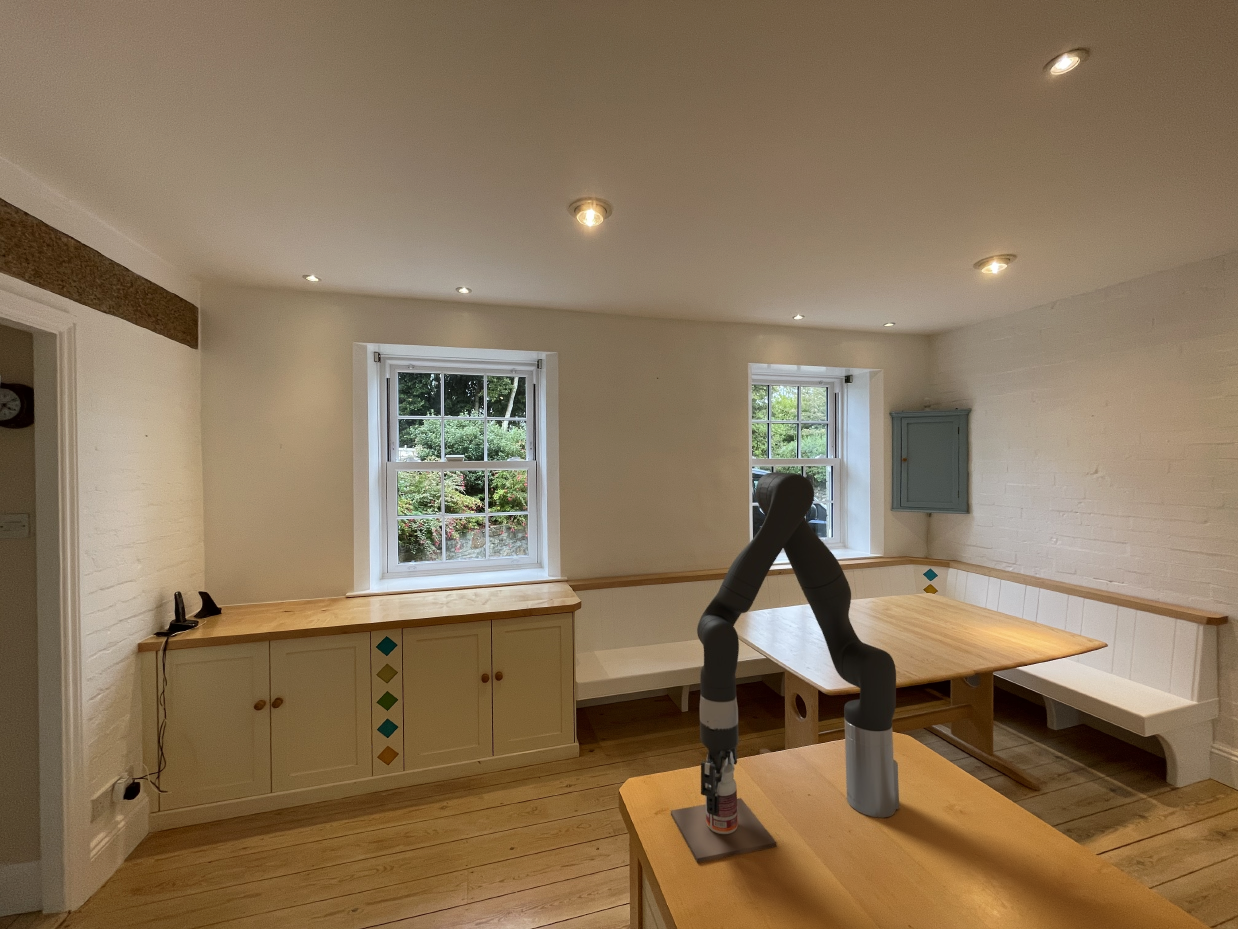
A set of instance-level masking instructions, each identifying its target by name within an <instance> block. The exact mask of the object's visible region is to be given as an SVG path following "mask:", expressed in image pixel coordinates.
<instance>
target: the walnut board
mask: <svg viewBox="0 0 1238 929" xmlns="http://www.w3.org/2000/svg"><path fill="white" fill-rule="evenodd" d="M670 816H671V818H672V820H673V821H674V823H675V825H676V827H677V828H678V831H679V833H680V834H681V836H682V837H683V838H682V839H683V840H684V841H685V843H686V845H687V847H688V848H689V851H690V852H691V854H692V855H693V858H694V859H695V862H696V863H697V864H700V863H704V862H708V861H713V860H717V859H724V858H729V857H732V856H738V855H743V854H747V853H753V852H757V850H758V851H761V850H762V851H763V850H766V849H767V850H768V849H771V848H777V844H778V843H777V841H776V840H775V837H773V836H772V835H771V833H770V832H769V831H768V830H767V828H766V827H765V826H764V825H763V823H762V822H761V821H760V820H759V819H758V817H757V816H756V815H755V814H754V813H753V811H752V810H751V809H750V807H749V806H748V805H747V804H746V803H745V801H744V800H743V798H742V797H740V798H738V797H737V817H738V826H737V829H736V830H735V831H734V832H732V833H730V834H718V833H715V832H713V831H712V830H711V829H710V828H709V827H708V826H707V823H706V803H704V804H701V805H694V806H689V807H688V806H687V807H682V808H677V809H672V810H670Z"/></svg>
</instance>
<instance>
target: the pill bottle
mask: <svg viewBox="0 0 1238 929" xmlns="http://www.w3.org/2000/svg"><path fill="white" fill-rule="evenodd" d="M719 775H720V774H717V773H715V776H716V777H719ZM734 775H735V774H734V772H733V766H732V765H731V764H730V763H729V762H728V765H727V767H726V768H725V774H724V780H723V783H721V784H720V788H719V814H718V815H717V816H714V815H711V814H709V813H708V812H707V796H705V795H704V796H705V804H706V823H707V826H708V827H709V828H710V829H711V830H712V831H713V832H715V833H718V834H730V833H732V832H734V831H735V830H736V829H737V826H738V817H737V799H738V788H737V782H736V780H735V779H734V777H735V776H734ZM715 786H716V782H715ZM710 787H711V785H710Z"/></svg>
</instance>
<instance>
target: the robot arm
mask: <svg viewBox="0 0 1238 929" xmlns="http://www.w3.org/2000/svg"><path fill="white" fill-rule="evenodd" d="M755 499H756V501H757V504H758V506H759V508H760V509H761V512H762V514H763V515H764V517H765V519H764V522H763V523H762V525H761V526H760V528H759V529H758V531H757V533H756V534H755V535H754V537H753V538H752V540H750V542H749V543H748V544H747V545H746V546H745V547H744V548H743V549H742V550H741V551H740V552H739V554H737V556H736V558H735V559H734V560H733V562H732V563H731V565H730V567H729V569H728V571H727V573H726V574H725V576H724V578H723V581H722V583H721V585H720V587H719V590H718V592H717V593H716V595H715V596H714V597H713V599H711V601H710V603H709V604H708V605H707V606H706V608H705V610H704V611H703V613H702V615H701V617H700V618H699V621H698V624H697V628H696V632H697V637H698V640H699V641H700V642H701V644H702V647H703V666H701V669H700V679H699V680H700V681H699V682H700V698H699V699H700V700H699V738H700V742H701V744H702V746H704V747H706V749H707V750H708V751H707V754H706V759H705V760H706V761H704V760H702V761H701V763H700V795H702V796H707V812H708V813H709V814H711V815H714V816H717V815H718V814H719V788H720V784H721V783H723V780H724V774H725V768H726V767H727V765H728V762H729V763H730V764H731V765H732V766H733V773H734V772H735V768H736V767H735V766H736V765H737V764H738V751H737V750H738V749H737V746H738V745H739V739H740V738H739V707H738V700H737V678H736V674H737V673H736V671H737V667H738V660H739V654H740V653H739V652H740V651H739V650H740V641H739V634H738V632H737V630H736V628H735V624H736V623H737V621H738V619H739V618H740V616H741V615H742V614H745V613H748V611H749V610H751V607H752V606H753V604H754V601H755V599H756V598H757V596H758V593H759V591H760V589H761V588H762V585H763V583H764V581H765V580H766V577H767V575H768V573H769V572H770V569H771V568H772V567H773V565H774V563H775V561H776V560H777V558H778V556H780V553H782V551H784V554H785V555H786V558H787V560H788V562H789V564H790V566H791V569H792V571H793V573H794V575H795V577H796V580H797V582H798V584H799V586H800V589H801V590H802V593H803V595H804V597H805V599H806V601H807V602H808V604H809V607H810V609H811V611H812V612H813V615H814V617H815V620H816V622H817V624H818V626H819V628H820V631H821V633H822V634H823V638H824V641H825V643H826V647H827V650H828V652H829V655H830V658H831V661H832V663H833V666H834V668H835V671H836V672H837V674H838V676H839V677H840V678H841V679H843V681H845V682H847V683H848V684H850V685H853V686H854V687H856V688H859V699H853V700H852V699H851V700H848V701H847V702H846V703H845V704H844V707H843V709H844V710H843V713H844V714H843V715H844V716H843V718H844V745H845V746H844V749H845V751H844V752H845V776H846V777H845V783H846V800H847V801H846V802H847V803H848V804H849V806H851V808H853V809H854V810H856V811H857V812H859V813H861V814H863V815H865V816H868V817H872V818H879V819H880V818H888V817H892V816H893V815H894V814H895V812H896V811H897V810H900V790H899V789H900V788H899V764H898V762H897V761H896V760H895V758H894V737H893V718H894V715H895V712H896V707H897V706H896V705H897V703H896V702H897V668H896V664H895V661H894V659H893V657H892V655H891V654H890V653H889V652H887V651H886V650H883V649H881V648H879V647H876V646H873V645H871V644H867V643H865V642H862V641H861V639H860V638H859V637H858V635H857V633H856V631H855V630H854V628H853V625H852V623H851V620H850V616H849V615H850V608H851V603H852V602H851V601H852V591H851V590H852V589H851V586H850V584H849V581H848V579H847V577H846V575H845V572H844V570H843V569H842V565H841V564H840V562H839V561H838V559H837V557H835V555H834V554H833V553H832V551H831V550H830V549H829V547H828V546H827V545H826V544H825V542H823V540H822V539H821V538H820V537H819V536H818V535H817V533H816V532H815V530H813V529H812V527H811V526H810V524H809V522H808V521H807V519H806V516H807V514H808V513H809V511H810V509H811V508H812V506H813V504H814V500H815V490H814V486H813V483H812V482H811V480H809V479H808V478H807V477H806V476H805V475H801V474H797V473H792V472H781V471H772V472H767V473H765V474H763V475H762V476H761V477H760V478H759V479H758V481H757V483H756V486H755ZM715 773H717V774H720V775H719V777H716V776H715ZM715 782H716V786H715ZM710 785H711V787H710ZM896 809H897V810H896Z"/></svg>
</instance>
